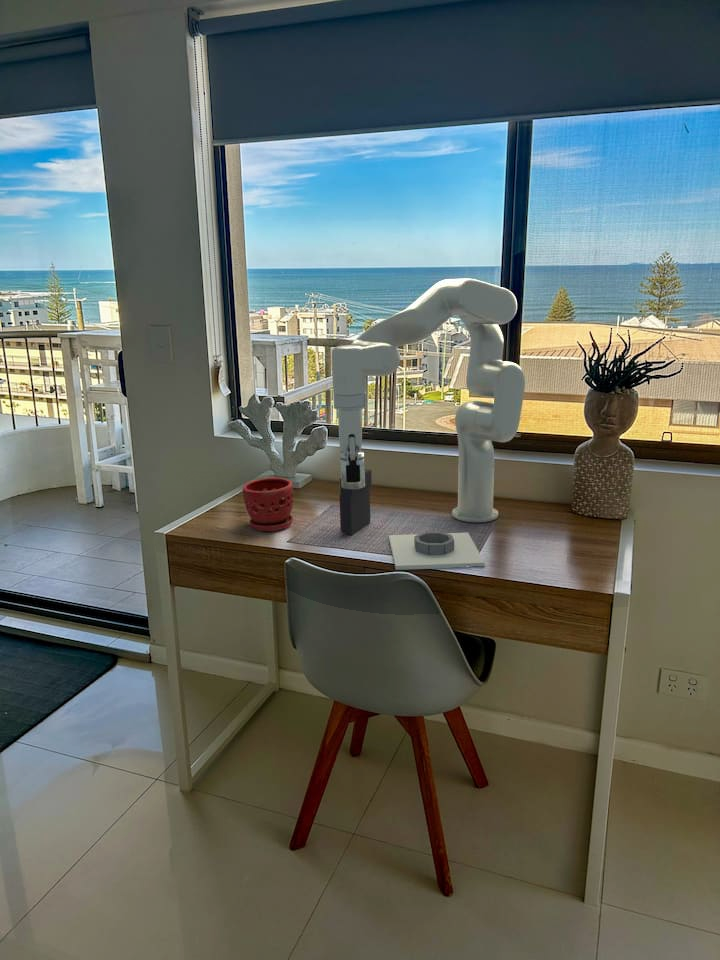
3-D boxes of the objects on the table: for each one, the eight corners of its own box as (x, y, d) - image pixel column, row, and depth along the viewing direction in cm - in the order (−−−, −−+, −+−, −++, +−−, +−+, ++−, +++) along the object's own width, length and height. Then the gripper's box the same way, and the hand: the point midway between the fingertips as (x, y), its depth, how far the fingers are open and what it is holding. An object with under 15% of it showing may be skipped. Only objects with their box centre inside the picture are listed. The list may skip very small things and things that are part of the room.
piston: (341, 483, 162) (339, 450, 160) (364, 482, 163) (363, 449, 160) (341, 489, 157) (339, 456, 155) (365, 488, 157) (364, 455, 155)
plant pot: (264, 516, 192) (262, 475, 189) (304, 522, 186) (302, 480, 183) (235, 530, 181) (232, 487, 178) (276, 537, 175) (273, 492, 172)
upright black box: (358, 521, 186) (357, 467, 182) (372, 523, 184) (371, 469, 180) (338, 533, 177) (337, 477, 173) (353, 536, 175) (351, 479, 171)
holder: (388, 539, 172) (388, 525, 171) (467, 536, 172) (468, 523, 172) (395, 569, 153) (395, 555, 152) (484, 566, 153) (485, 552, 152)
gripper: (333, 396, 163) (336, 469, 167) (333, 408, 146) (337, 489, 151) (365, 394, 163) (367, 468, 168) (368, 406, 146) (370, 487, 151)
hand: (353, 477), depth 159 cm, fingers closed on piston, 5 cm apart
